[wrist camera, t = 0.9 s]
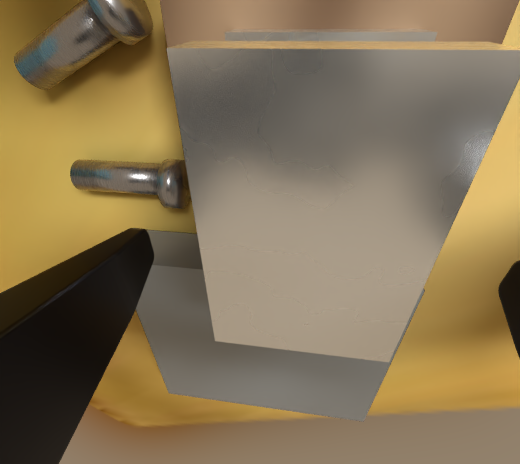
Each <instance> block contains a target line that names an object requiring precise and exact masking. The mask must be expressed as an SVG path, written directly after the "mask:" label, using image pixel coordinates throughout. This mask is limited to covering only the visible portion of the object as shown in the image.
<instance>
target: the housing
mask: <svg viewBox="0 0 520 464" xmlns="http://www.w3.org/2000/svg"><path fill="white" fill-rule="evenodd" d="M436 35H437V32H435V31H429V30H424V29H234V30H231V31H227V32H225V41H190V42H187V43H183V44H179V45H176V46H172V47H168V48H166V49H167V55H168V61H169V67H170V73H171V79H172V85H173V91H174V97H175V103H176V109H177V115H178V121H179V127H180V133H181V139H182V145H183V151H184V157H185V163H186V169H187V175H188V181H189V187H190V193H191V199H192V205H193V211H194V217H195V223H196V229H197V235H198V241H199V247H200V253H201V259H202V265H203V271H204V277H205V283H206V289H207V295H208V301H209V308H210V314H211V320H212V326H213V332H214V338H215V341H218V342H226V343H235V344H243V345H251V346H259V347H267V348H275V349H283V350H292V351H300V352H308V353H316V354H324V355H332V356H341V357H349V358H357V359H365V360H373V361H381V362H389V361H390V359H391V357H392V355H393V353H394V351H395V348H396V346H397V344H398V342H399V340H400V338H401V335H402V333H403V331H404V329H405V327H406V324H407V322H408V320H409V318H410V316H411V314H412V311H413V309H414V307H415V305H416V303H417V300H418V298H419V296H420V294H421V292H422V290H423V287H424V285H425V283H426V281H427V279H428V277H429V274H430V272H431V270H432V268H433V266H434V263H435V261H436V259H437V257H438V255H439V253H440V250H441V248H442V246H443V244H444V242H445V239H446V237H447V235H448V233H449V231H450V229H451V226H452V224H453V222H454V220H455V218H456V216H457V213H458V211H459V209H460V207H461V205H462V202H463V200H464V198H465V196H466V194H467V192H468V189H469V187H470V185H471V183H472V181H473V179H474V176H475V174H476V172H477V170H478V168H479V165H480V163H481V161H482V159H483V157H484V155H485V152H486V150H487V148H488V146H489V144H490V141H491V139H492V137H493V135H494V133H495V131H496V128H497V126H498V124H499V122H500V120H501V118H502V115H503V113H504V111H505V109H506V107H507V104H508V102H509V100H510V98H511V96H512V94H513V91H514V89H515V87H516V85H517V83H518V80H519V78H520V48H518V47H513V46H508V45H503V44H497V43H492V42H435V39H436Z"/></svg>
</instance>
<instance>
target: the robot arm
mask: <svg viewBox="0 0 520 464" xmlns="http://www.w3.org/2000/svg"><path fill="white" fill-rule="evenodd" d="M153 261H154V250H153V247H152V243H151V240H150V236H149V233H148V232H147V230H145V229H139V228H130V229H128V230H126V231H124V232H122V233H120V234H118V235H116V236H114V237H112V238H110V239H108V240H106V241H104V242H102V243H100V244H98V245H96V246H94V247H92V248H90V249H88V250H86V251H84V252H82V253H80V254H78V255H76V256H74V257H72V258H70V259H68V260H66V261H64V262H62V263H60V264H58V265H56V266H54V267H52V268H50V269H48V270H46V271H44V272H42V273H40V274H38V275H36V276H34V277H32V278H30V279H28V280H26V281H24V282H22V283H20V284H18V285H16V286H14V287H12V288H10V289H8V290H6V291H4V292H2V293H0V464H59V462H60V460H61V458H62V456H63V454H64V452H65V450H66V448H67V446H68V444H69V442H70V440H71V438H72V436H73V434H74V432H75V430H76V428H77V426H78V424H79V422H80V420H81V418H82V416H83V414H84V412H85V410H86V408H87V406H88V404H89V402H90V400H91V398H92V396H93V394H94V392H95V390H96V388H97V386H98V384H99V382H100V380H101V378H102V376H103V374H104V372H105V370H106V368H107V366H108V364H109V362H110V360H111V358H112V356H113V354H114V352H115V350H116V348H117V346H118V344H119V342H120V340H121V338H122V336H123V334H124V332H125V330H126V328H127V326H128V324H129V322H130V320H131V318H132V316H133V314H134V312H135V310H136V307H137V305H138V302H139V299H140V297H141V294H142V291H143V289H144V286H145V283H146V280H147V278H148V275H149V272H150V270H151V267H152V264H153ZM498 291H499V297H500V300H501V303H502V306H503V309H504V313H505V316H506V319H507V322H508V325H509V328H510V331H511V335H512V338H513V341H514V344H515V347H516V350H517V353H518V355H519V358H520V261H517V262H515V263H514V264H513V265H512V267H511V268H510V270H509V271H508V273H507V274H506V276H505V277H504V279H503V280H502V282H501V283H500V285H499V290H498Z"/></svg>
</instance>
